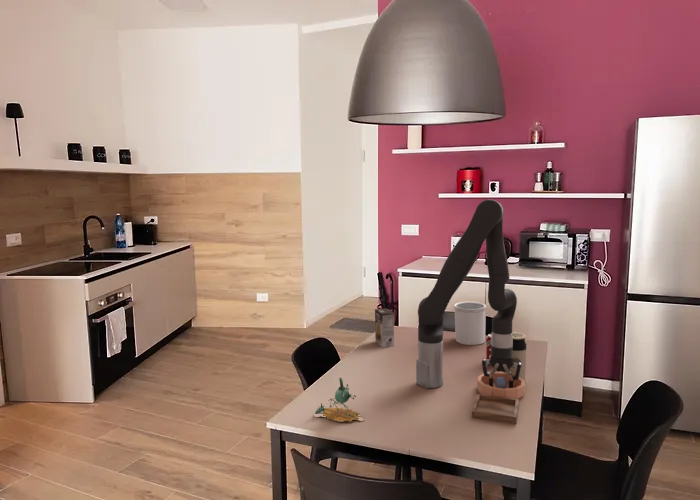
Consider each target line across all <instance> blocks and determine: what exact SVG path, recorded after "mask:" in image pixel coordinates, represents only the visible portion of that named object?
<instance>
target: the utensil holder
mask: <svg viewBox="0 0 700 500" xmlns="http://www.w3.org/2000/svg"><path fill="white" fill-rule="evenodd" d="M453 308H454V331H455V332H454V333H455V336H454V337H455V342H457V343H459V344H461V345H468V346H476V345H481V344H483V343H486V342H485V341H486V309H487V305H486V304H485V303H483V302H481V301H466V300H465V301H458V302H456V303H455V304H454V305H453Z"/></svg>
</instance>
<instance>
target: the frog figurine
mask: <svg viewBox="0 0 700 500" xmlns="http://www.w3.org/2000/svg"><path fill="white" fill-rule="evenodd" d="M338 380H339V384H340V385H339V387H338V388H337V389H336V391H335V393H334V399H333V398H330V399H328V402H333V404H332V403H330V404H329V407H325V406H324V405H323V403H320V406H319V407H318V408H317V409H316V410H315V412H314V413H315V414H324V415H323V416H326V417H327V419H328V420H332V421H335V422H340V423H341V422H342V423H344V422H347V421H348V422H349V423H352V422H351V421H352V420H358V419H359V418H358V417H360V416H361V414H360V413H359V412H357V411H355V410H353V409H350V408H349V407H348V406H347V405H346V404H345V403H348V401H349V400H350V399H352V400H355V398H356V397H357V395H355V394H354V395H352V394H350V391H349V390H350V387H349V384H346V386H344V383H343V378H342V377H339V379H338ZM336 404H337V405H343V407H344V408H342V407H339V406H337V405H336ZM333 406H335V407H333ZM358 415H360V416H358Z"/></svg>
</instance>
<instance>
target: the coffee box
mask: <svg viewBox="0 0 700 500" xmlns="http://www.w3.org/2000/svg"><path fill="white" fill-rule="evenodd" d="M374 322H375V323H374V325H375V326H374V327H375V329H374V330H375V331H374V333H375V342H376V343H377V345H379V346H380V347H381V348H388V347H389V348H390V347H394V346H395V313H394V312H393V311H391V310H390V309H388V308H376V309H374Z"/></svg>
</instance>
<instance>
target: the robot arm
mask: <svg viewBox="0 0 700 500" xmlns="http://www.w3.org/2000/svg"><path fill="white" fill-rule="evenodd" d="M503 219H504V208H503V206H502V204H501V203H500V201H497V200H495V199H484V200H482V201H480V202H479V204H478V205H477V206H476V209H475V211H474V213H473V215H472V218H471V220H470V222H469V224H468V226H467V228H466V230H465V231H464V233H463V235H461V237H460V238H459V240H457V242H456V243H455V246H454V247H453V249H452V250H451V252H450V253H449V255H448V256H447V258H446V260H445V262H444V264H443V266H442V268H441V270H440V272H439V275H438V277H437V279H436V282H435V284H434V286H433V288H432V289H431V291H430V293H429V294H428V296H426V297H424V298H423V299H421V301H420V302H419V304H418V308H417V317H418V331H417V335H418V337H417V338H418V341H417V348H418V349H417V350H418V351H417V352H418V353H417V359H416V361H415V363H416V364H415V369H416V370H415V371H416V372H415V373H416V374H415V377H416V378H415V379H416V384H417V385H418V386H421V387H423V388H425V389H436V388H437V389H438V388H439V387H442V386H443V384H444V379H443V378H444V372H443V371H444V370H443V369H444V368H443V367H444V364H443V363H444V314H445V312H446V309H447V307H448V305H449V303H450V301H451V299H452V297H454V295H455V293H456V292H457V290H458V289H459V288H460V286H461V285H462V284H463V282H464V280H465V279H466V277H467V276H468V275H469V273H470V272H471V270H472V268H473V266H474V264H475V263H476V261H477V258H478V257H479V254H480V251H481V248H482V246H483V245H484V242H485V246H486V247H485V248H486V251H485V252H486V264H487V273H488V278H489V279H488V280H489V281H488V287H487V288H488V290H487V301H488V304H489V307H490V308H491V309H492V310H493V311H496V312H497V313H496V314H495V315H494V316H493V317H492V319H491V320H492V321H491V334H492V335H491V358H490V359H486V358H483V359H482V360H481V365H482V372H483V373H482V374H484V376H487V377H489V386H491V387H493V375H494V373H495V372H502V373H504V372H506V373H507V375H508V377H509V388H513V381H514V380H518V378H519V373H520V368H521V362H518V363H517V362H514V361H513V359H512V351H513V336H512V333H513V320H514V317H515V313H516V309H517V303H518V300H517V299H518V298H517V296H516V295H517V294H516V293H515V291H514V290H512V289H510V288H506V284H507V283H508V282H509V280H510V269H509V264H508V257H507V254H506V248H505V242H504V233H503V232H504V230H503V229H504V228H503V226H504V224H503V222H504V220H503ZM489 362H490V364H489ZM489 365H491V366H492V368H491V371H489V370H488V366H489ZM513 365H514V366H515V368H516V369H517V370H516V374H515V375H513V374H512V372H511V369H510V368H511V367H512V366H513Z"/></svg>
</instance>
